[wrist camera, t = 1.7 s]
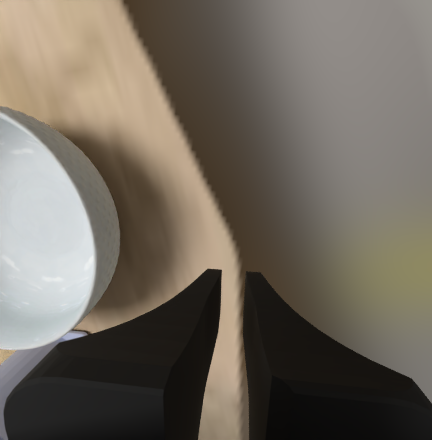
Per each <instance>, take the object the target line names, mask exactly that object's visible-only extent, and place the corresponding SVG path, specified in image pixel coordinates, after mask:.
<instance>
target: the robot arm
mask: <svg viewBox="0 0 432 440" xmlns="http://www.w3.org/2000/svg"><path fill="white" fill-rule="evenodd" d="M221 277H222V270H218V269H207V270H206V271H205V272H204V273H202V274H201V275H200V276H199V277H198V278H197V279H196V280H195V281H194V282H193V283H191V284H190V285H189V286H188V287H187V288H186V289H184V290H183V291H182V292H180V293H179V294H178V295H176V296H175V297H174V298H172V299H171V300H169V301H167V302H166V303H164V304H162V305H161V306H159V307H157V308H155V309H154V310H152V311H150V312H148V313H145V314H143V315H141V316H139V317H137V318H135V319H133V320H130V321H128V322H125V323H123V324H120V325H117V326H115V327H112V328H109V329H106V330H103V331H100V332H97V333H93V334H90V335H88V334H87V333H86V332H80V331H70V332H69V333H67V334H66V335H65V336H63V337H61V338H60V339H58V340H56V341H54V342H52V343H50V344H47V345H44V346H41V347H37V348H33V349H25V350H16V351H15V352H14V353H13V354H12V355H11V356H10V357H8V358H7V359H6V360H5V361H4V362H3V363H2V364H0V440H198V434H199V427H200V419H201V412H202V405H203V398H204V392H205V387H206V382H207V377H208V373H209V369H210V365H211V360H212V356H213V352H214V348H215V343H216V339H217V334H218V328H219V319H220V308H221ZM243 339H244V350H245V360H246V370H247V379H248V393H249V440H432V404H431V402H430V401H429V399H428V398H427V397H426V396H425V394H424V393H423V392H422V391H421V389H420V388H419V387H418V386H417V384H416V383H415V382H414V381H413V380H412V379H411V378H409V377H407V376H405V375H402V374H400V373H398V372H396V371H394V370H391V369H389V368H387V367H385V366H383V365H380V364H378V363H376V362H374V361H372V360H370V359H368V358H366V357H364V356H362V355H360V354H358V353H356V352H354V351H353V350H351V349H349V348H347V347H345V346H344V345H342V344H340V343H338V342H337V341H335V340H334V339H332V338H331V337H329V336H327V335H326V334H324V333H323V332H321V331H320V330H318V329H317V328H316V327H314V326H313V325H311V324H310V323H309V322H308V321H306V320H305V319H304V318H303V317H301V316H300V315H299V314H298V313H296V312H295V311H294V310H293V309H292V308H291V307H290V306H289V305H288V304H287V303H286V302H285V301H284V300H283V299H282V298H281V297H280V296H279V295H278V294H277V293H276V291H274V289H273V288H272V287H271V285H270V284H269V283H268V282H267V280H266V279H265V278H264V276H263V275H262V274H261V273H260V272H247V271H246V279H245V294H244V311H243Z"/></svg>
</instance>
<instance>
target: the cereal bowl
mask: <svg viewBox="0 0 432 440" xmlns="http://www.w3.org/2000/svg"><path fill="white" fill-rule="evenodd" d="M119 247H120V230H119V219H118V216H117V212H116V207H115V205H114V201H113V199H112V196H111V194H110V192H109V189H108V187H107V186H106V183H105V182H104V180H103V178H102V176H101V175H100V174H99V172H98V170H97V169H96V168H95V166H94V165H93V163H92V162H91V161H90V160H89V158H88V157H87V156H86V155H85V154H84V153H83V151H81V150H80V149H79V148H78V147H77V146H75V145H74V144H73V143H72V141H70V140H69V139H67V138H66V137H64V136H63V135H62V134H61V133H59V132H58V131H57V130H55V129H53V128H51V127H50V126H48V125H47V124H45V123H43V122H41V121H38V120H37V119H35V118H34V117H31V116H28V115H26V114H24V113H22V112H20V111H15V110H12V109H10V108H8V107H2V106H0V349H6V350H25V349H33V348H37V347H41V346H44V345H47V344H50V343H52V342H54V341H56V340H58V339H60V338H61V337H63V336H65V335H66V334H67V333H69V332H70V331H71V330H72V329H74V328H75V327H76V326H77V325H78V324H79V323H80V322H81V321H82V320H83V318H84V317H85V316H86V315H88V314H89V312H90V311H91V309H92V308H93V307H95V305H96V304H97V302H98V301H99V300H100V299H101V297H102V295H103V293H104V292H105V291H106V289H107V288H108V285H109V283H110V282H111V280H112V276H113V274H114V273H115V268H116V265H117V263H118V257H119V252H120V250H119Z"/></svg>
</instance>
